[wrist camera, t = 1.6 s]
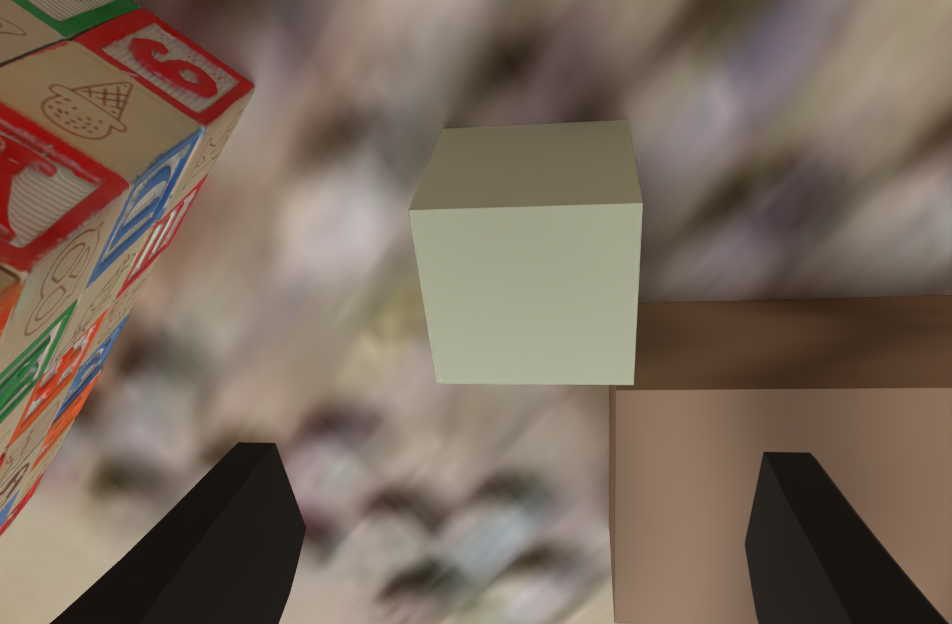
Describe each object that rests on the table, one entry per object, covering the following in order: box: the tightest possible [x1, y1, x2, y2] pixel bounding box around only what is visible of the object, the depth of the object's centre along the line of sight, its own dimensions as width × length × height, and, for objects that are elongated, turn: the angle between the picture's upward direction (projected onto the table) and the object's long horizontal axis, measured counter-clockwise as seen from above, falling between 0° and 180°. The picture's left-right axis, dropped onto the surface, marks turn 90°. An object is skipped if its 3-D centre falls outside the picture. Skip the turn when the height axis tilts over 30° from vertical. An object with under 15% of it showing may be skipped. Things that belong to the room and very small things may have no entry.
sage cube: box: [409, 120, 643, 385], centre depth 16 cm, size 4×4×4 cm
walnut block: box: [609, 295, 952, 624], centre depth 20 cm, size 10×10×4 cm
